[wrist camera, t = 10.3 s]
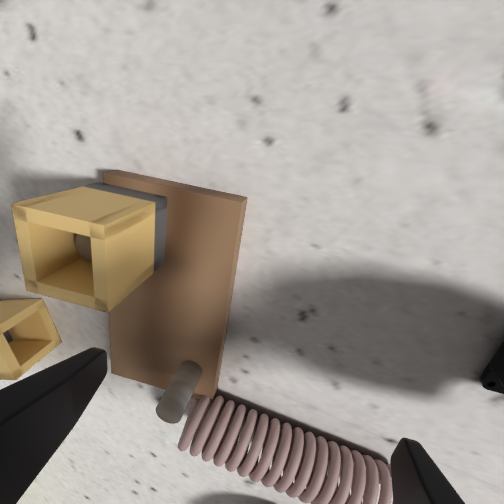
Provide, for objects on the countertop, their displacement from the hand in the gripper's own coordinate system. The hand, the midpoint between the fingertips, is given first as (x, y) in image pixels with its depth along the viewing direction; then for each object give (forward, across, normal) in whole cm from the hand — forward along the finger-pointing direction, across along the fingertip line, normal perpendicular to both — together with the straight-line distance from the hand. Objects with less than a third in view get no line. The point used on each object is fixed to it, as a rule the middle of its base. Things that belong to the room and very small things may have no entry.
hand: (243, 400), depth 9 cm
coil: (+12, -4, +17) cm, 21 cm away
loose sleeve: (+10, +10, 0) cm, 14 cm away
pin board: (+12, +8, +6) cm, 15 cm away
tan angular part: (+10, +24, +14) cm, 30 cm away
